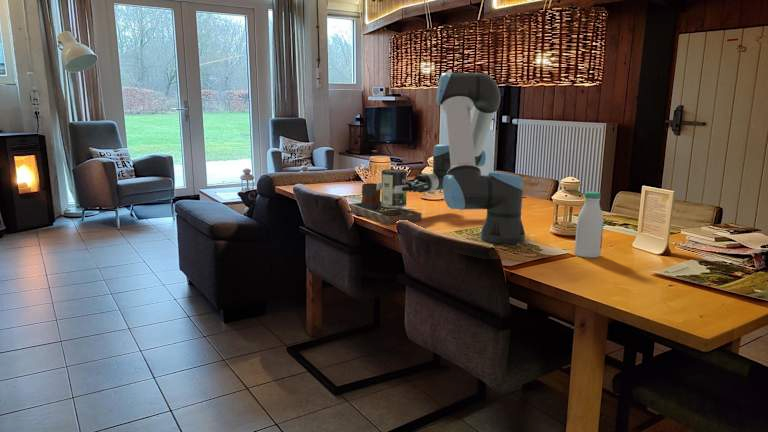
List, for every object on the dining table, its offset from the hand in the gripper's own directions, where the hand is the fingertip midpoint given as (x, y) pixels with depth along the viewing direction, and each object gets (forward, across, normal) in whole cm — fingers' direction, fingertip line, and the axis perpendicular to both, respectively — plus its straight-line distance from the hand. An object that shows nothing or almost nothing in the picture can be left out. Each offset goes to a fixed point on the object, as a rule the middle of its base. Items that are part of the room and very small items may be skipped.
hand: (386, 187), depth 220 cm
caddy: (-5, +8, -13) cm, 16 cm away
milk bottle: (-15, -79, -13) cm, 81 cm away
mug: (-7, +16, -13) cm, 22 cm away
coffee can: (-4, 0, -8) cm, 9 cm away
